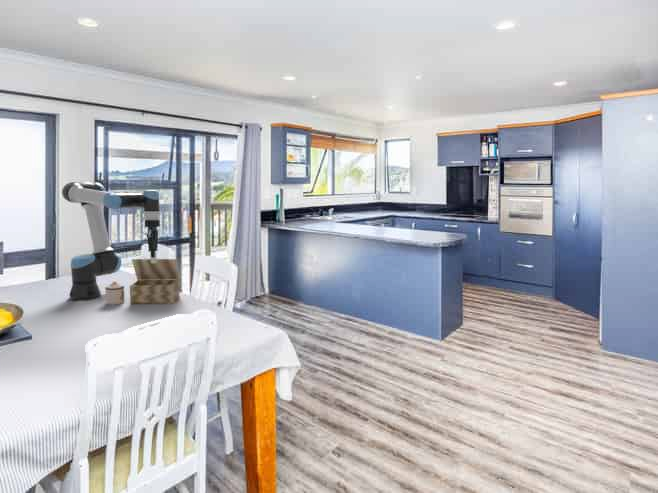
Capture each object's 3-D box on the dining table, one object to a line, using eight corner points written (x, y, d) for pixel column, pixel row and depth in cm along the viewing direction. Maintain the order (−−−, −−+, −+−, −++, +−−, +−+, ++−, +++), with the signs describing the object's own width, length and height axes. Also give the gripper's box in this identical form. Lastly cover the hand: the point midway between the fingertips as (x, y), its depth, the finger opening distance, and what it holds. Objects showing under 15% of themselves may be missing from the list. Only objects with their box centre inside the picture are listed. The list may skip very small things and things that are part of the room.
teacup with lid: (124, 304, 225) (123, 282, 224) (105, 305, 222) (103, 283, 220) (125, 298, 236) (124, 278, 235) (107, 300, 233) (106, 279, 231)
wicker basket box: (130, 304, 226) (129, 285, 224) (139, 297, 240) (138, 279, 238) (173, 303, 228) (172, 285, 227) (179, 296, 242) (179, 279, 241)
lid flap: (131, 260, 229) (132, 258, 230) (137, 279, 238) (137, 278, 239) (176, 259, 232) (176, 258, 233) (179, 279, 241) (180, 278, 242)
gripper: (155, 220, 221) (157, 265, 224) (162, 218, 234) (164, 261, 237) (140, 220, 220) (142, 265, 223) (148, 218, 233) (150, 261, 236)
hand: (153, 263), depth 230 cm, fingers closed
